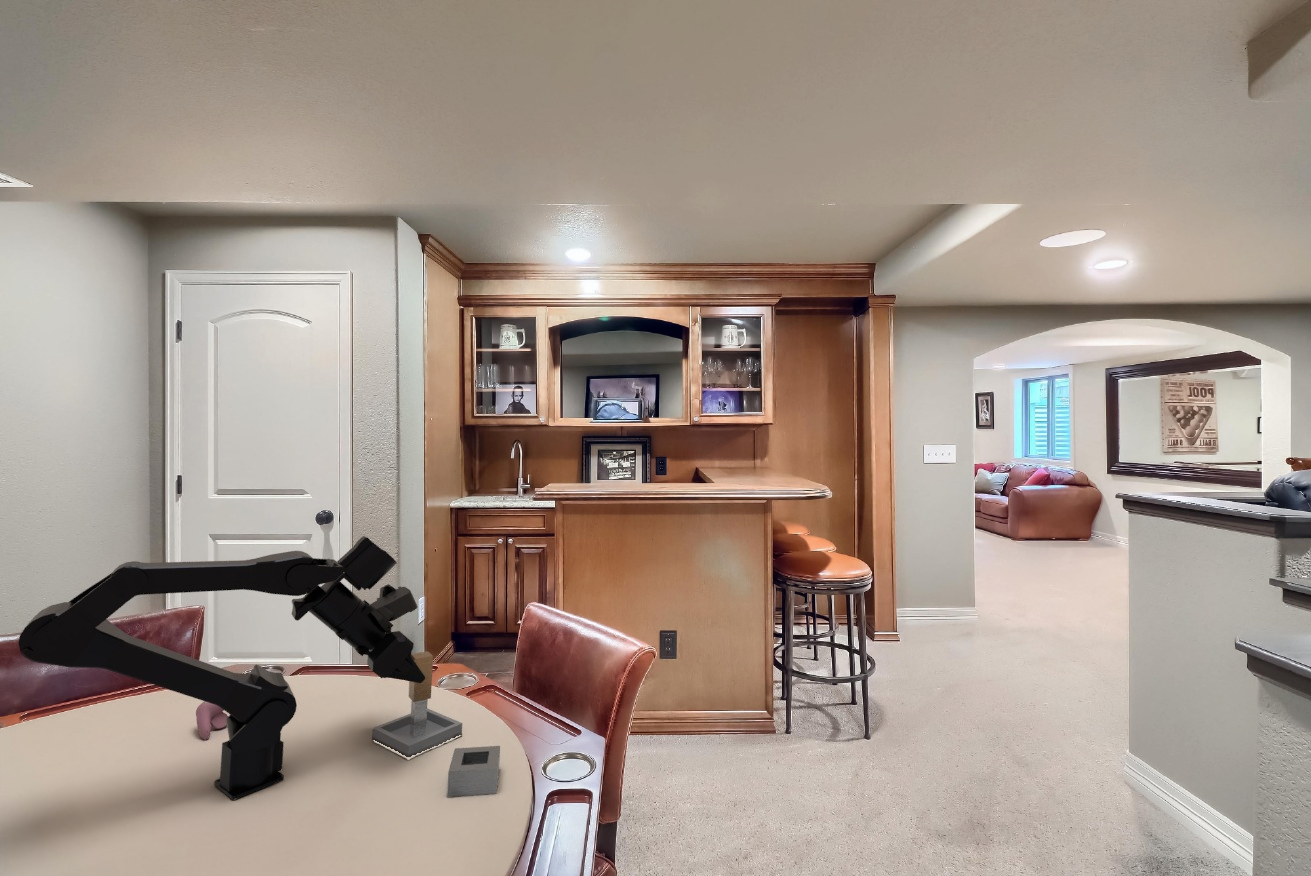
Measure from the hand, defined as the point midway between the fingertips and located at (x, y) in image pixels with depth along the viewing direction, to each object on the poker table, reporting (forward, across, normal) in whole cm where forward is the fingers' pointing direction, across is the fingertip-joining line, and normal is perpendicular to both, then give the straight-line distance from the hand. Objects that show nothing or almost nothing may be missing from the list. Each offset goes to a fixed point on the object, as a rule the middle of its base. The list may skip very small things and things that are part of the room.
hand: (414, 671), depth 97 cm
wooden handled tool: (+8, 0, +7) cm, 11 cm away
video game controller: (-8, +22, +25) cm, 34 cm away
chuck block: (+11, -18, +5) cm, 22 cm away
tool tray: (+9, 0, +7) cm, 11 cm away
